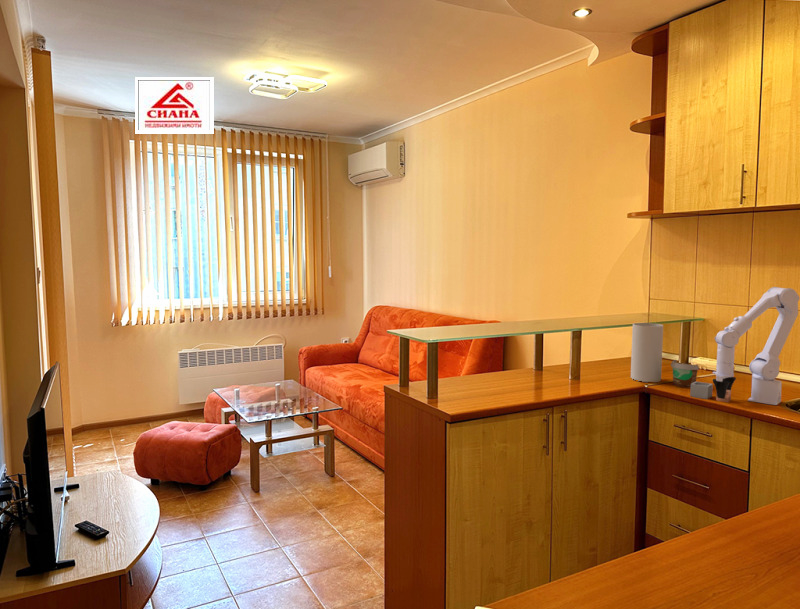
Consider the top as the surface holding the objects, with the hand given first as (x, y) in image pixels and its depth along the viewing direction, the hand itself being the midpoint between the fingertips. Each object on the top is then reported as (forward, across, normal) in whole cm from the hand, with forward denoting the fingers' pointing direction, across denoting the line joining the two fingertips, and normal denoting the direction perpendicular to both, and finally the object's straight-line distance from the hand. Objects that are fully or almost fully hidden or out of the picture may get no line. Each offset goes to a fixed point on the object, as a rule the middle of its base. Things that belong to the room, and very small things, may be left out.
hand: (723, 396), depth 214 cm
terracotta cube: (+2, 0, 0) cm, 2 cm away
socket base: (+1, 0, -8) cm, 8 cm away
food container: (+2, -14, -20) cm, 24 cm away
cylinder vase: (+2, -15, -35) cm, 38 cm away
